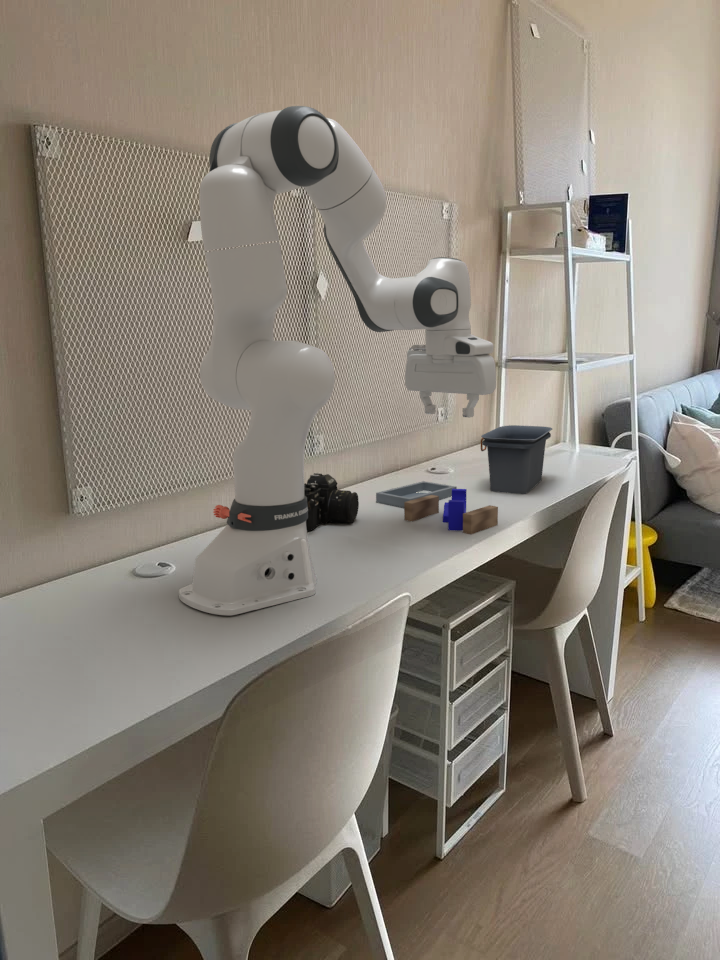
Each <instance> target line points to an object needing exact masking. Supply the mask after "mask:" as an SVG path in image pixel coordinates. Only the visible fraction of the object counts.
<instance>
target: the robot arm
mask: <svg viewBox="0 0 720 960" xmlns="http://www.w3.org/2000/svg"><path fill="white" fill-rule="evenodd" d="M300 188H303V189H304V190H305V192H306V194H307V195H308V197H309V199H310V200H311V202H312V204H314V206H315V208H316V210H317V211H318V212H319V214H320V216H321V218H322V220H323V222H324V225H323V235H324V239H325V241H326V245H327V247H328V249H329V251H330V254H331V256H332V257H333V259H334V261H335V263H336V266H337V267H338V269H339V271H340V273H341V275H342V276H343V277H344V280H345V282H346V284H347V286H348V288H349V290H350V291H351V294H352V295H353V298H354V301H355V304H356V307H357V311H358V314H359V316H360V319H361V321H362V322H363V323H364V325H365V326H366V327H367V328H368V329H369V330H371V331H372V332H375V333H384V332H391V331H412V330H413V331H414V330H424V334H425V336H424V338H425V339H424V342H425V344H413V345H412V346H411V347H409V349H408V350H407V352H406V365H405V373H404V386H405V388H406V390H407V391H413V392H419V398H420V400H421V402H422V404H423V406H424V414H425V415H434V414H436V412H437V411H436V407H437V405H436V404H433V402H432V399H431V396H432V393H442V394H443V393H445V394H461V395H466V400H467V401H468V402H467V405H466V406H465V407H462V417H463V418H473V417H475V407H476V405H477V403H478V402H479V399H480V395H481V396H485V395H491V394H493V393H494V391H495V390H496V388H497V368H496V362H495V358H494V357H493V356H492V355H491V354H492V353H493V352H494V350H495V349H494V348H495V346H494V343H493V342H492V341H489V340H487V339H484V338H482V337H479V336H476V335H474V334H472V325H471V322H470V317H469V316H470V311H471V308H472V307H471V305H472V302H471V301H472V295H471V293H472V292H471V291H472V290H471V281H470V274H469V273H470V271H469V268H468V266H467V263H466V262H465V261H463V260H461V259H459V258H455V257H445V256H444V257H443V256H441V257H434V258H431V259H429V260H428V261H427V265H426V266H425V268H424V269H422V270H421V271H420V272H418V273H416V274H414V276H408V277H407V276H406V277H388V276H384V275H382V274H381V273H379V272H378V270H377V269H376V267H375V264H374V262H373V261H372V258H371V256H370V254H369V252H368V251H367V248H366V246H365V243H364V240H365V239H367V238H368V237H369V236H370V235H371V234H372V233H373V232H374V230H376V228H377V227H378V226H379V224H380V223H381V221H382V219H383V218H384V215H385V211H386V207H387V195H386V191H385V188H384V186H383V183H382V182H381V179H380V178H379V175H378V174H377V172H376V171H375V169H374V168H373V166H372V165H371V163H370V161H369V160H368V158H367V156H365V154H364V152H363V151H362V149H361V148H360V147H359V145H358V144H357V143H356V142H355V140H354V139H353V138H352V136H351V135H350V134H349V133H348V132H347V130H346V129H345V128H344V127H343V126H342V125H341V124H340V123H339V122H338V121H336V120H335V119H332V118H329V117H326V116H325V114H323V113H322V112H320V111H319V110H317V109H316V108H314V107H311V106H306V105H305V106H304V105H292V106H291V105H290V106H287V107H285V108H282V109H281V110H273V111H268V112H260V113H257V114H254V115H252V116H249V117H247V118H244V119H243V120H240V121H239V122H235V123H234V122H233V123H232V124H229V125H228V126H226V127H225V128H224V129H222V130H221V131H220V132H219V133H218V134H217V135H216V137H215V138H214V140H213V141H212V143H211V147H210V150H209V172H208V173H207V174H206V175H205V176H203V178H202V180H201V183H200V185H199V218H200V221H199V222H200V230H201V231H200V232H201V236H202V237H201V238H202V239H201V240H202V244H203V245H202V246H203V250H204V255H205V261H206V262H205V263H206V266H207V273H208V278H209V284H210V289H211V296H212V303H213V305H212V306H213V321H212V322H213V324H212V334H211V340H210V346H209V349H208V350H207V352H206V353H205V354H204V357H202V358H203V359H202V361H201V362H200V367H199V378H200V383H201V386H202V389H203V390H204V392H205V393H206V395H208V397H210V398H211V399H212V400H214V401H216V402H218V403H220V404H222V405H223V406H226V407H228V408H232V409H235V410H245V411H250V419H249V423H248V429H247V432H246V434H245V436H244V439H243V440H242V441H240V443H239V444H237V445H236V447H235V448H234V451H233V453H232V463H233V465H232V466H233V484H234V499H232V503H231V506H230V508H229V507H228V506H223V505H221V504H218V505H215V506H214V509H213V511H212V512H213V516H215V518H219V519H222V520H226V524H227V525H226V526H224V528H223V529H222V530H221V531H220V532H219V533H218V534H217V535H216V536H215V537H214V538H213V540H211V542H209V544H207V546H206V547H205V548H204V549H203V550H202V551H201V552H200V553H199V554H198V555H197V556H196V558H195V560H194V564H193V565H194V566H193V572H192V573H193V575H192V583H190V584H188V585H186V586H183V587H181V588H179V589H178V599H179V600H180V601H181V602H182V603H184V604H185V605H187V606H188V607H191V608H193V609H195V610H198V611H201V612H203V613H207V614H208V613H209V614H212V615H219V616H237V615H239V614H244V613H248V612H252V611H256V610H260V609H263V608H264V609H265V608H267V607H272V606H275V605H276V606H277V605H279V604H285V603H288V602H292V601H296V600H299V599H303V598H308V597H311V596H314V595H315V594H316V584H317V582H318V577H317V573H316V572H315V569H314V565H313V560H312V556H311V551H310V544H309V537H308V531H307V528H306V520H307V519H308V505H307V497H306V496H305V495H304V484H305V450H306V443H307V438H308V435H309V431H310V428H311V426H312V424H313V421H314V419H315V417H316V415H317V414H318V412H319V411H320V410H321V409H322V408H323V407H324V406H325V405H327V403H328V402H329V400H330V399H331V398H332V394H333V392H334V390H335V389H334V388H335V384H336V383H335V382H336V374H335V368H334V365H333V363H332V360H331V358H330V356H329V355H328V354H327V353H326V352H325V351H324V350H323V349H321V348H319V347H317V346H313V345H311V344H309V343H305V342H302V341H297V340H286V339H285V340H284V339H283V340H275V339H274V328H275V327H274V325H275V319H276V316H277V315H276V314H277V313H278V310H279V308H280V307H281V306H282V305H283V304H284V303H285V300H287V299H286V298H287V296H288V295H287V294H288V287H287V280H286V274H285V269H284V261H283V255H282V250H281V249H282V248H281V242H280V237H279V232H278V231H279V229H278V228H277V227H278V226H277V222H276V218H275V217H276V216H275V214H274V204H275V200H276V196H277V195H279V194H284V193H287V192H288V193H289V192H291V191H294V190H297V189H300Z"/></svg>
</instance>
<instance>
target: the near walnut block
mask: <svg viewBox="0 0 720 960" xmlns="http://www.w3.org/2000/svg"><path fill="white" fill-rule="evenodd" d="M498 518H499V506H495V505H491V504H490V505H486V506H482V507H479V508H477V509H474V510H473V509H472V510H470V511H466V513H463V531H462V534H467V535H474V534H476V533H479V532H483V531H485V530H488V529H491V528H494V527H496V526H498V523H499V521H498V520H499V519H498Z"/></svg>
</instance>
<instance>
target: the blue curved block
mask: <svg viewBox="0 0 720 960" xmlns="http://www.w3.org/2000/svg"><path fill="white" fill-rule="evenodd" d="M466 512H467V488H457V489H452V497H451V499H448V502H445V501H444V504H443V514H442V522H443V523H447V531H452V532H453V531H456V532H463V513H466Z"/></svg>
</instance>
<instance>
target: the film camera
mask: <svg viewBox="0 0 720 960" xmlns="http://www.w3.org/2000/svg"><path fill="white" fill-rule="evenodd" d="M304 495H305V496H306V497H307V505H308V519H307V520H306V528H307V532H311V531H313V530H314V529H316V528H317V527H318V526H319V525H321V524H322V525H325V524H327V523H328V522H330V523H332V524H333V523H334V524H345V523H346V524H349V523H350V524H352V523H355V520H356V518H357V516H358V512H359V504H360V503H359V495H358V493H357V492H355V491H353V492H352V491H351V490H343V489H338V482H337V480H336V478H334V477H333V476H331V475H330V474H328V473H326V474H322V473H317V472H313V474H310V475H309V478H308V479H307V481H306V483H305V482H304Z"/></svg>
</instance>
